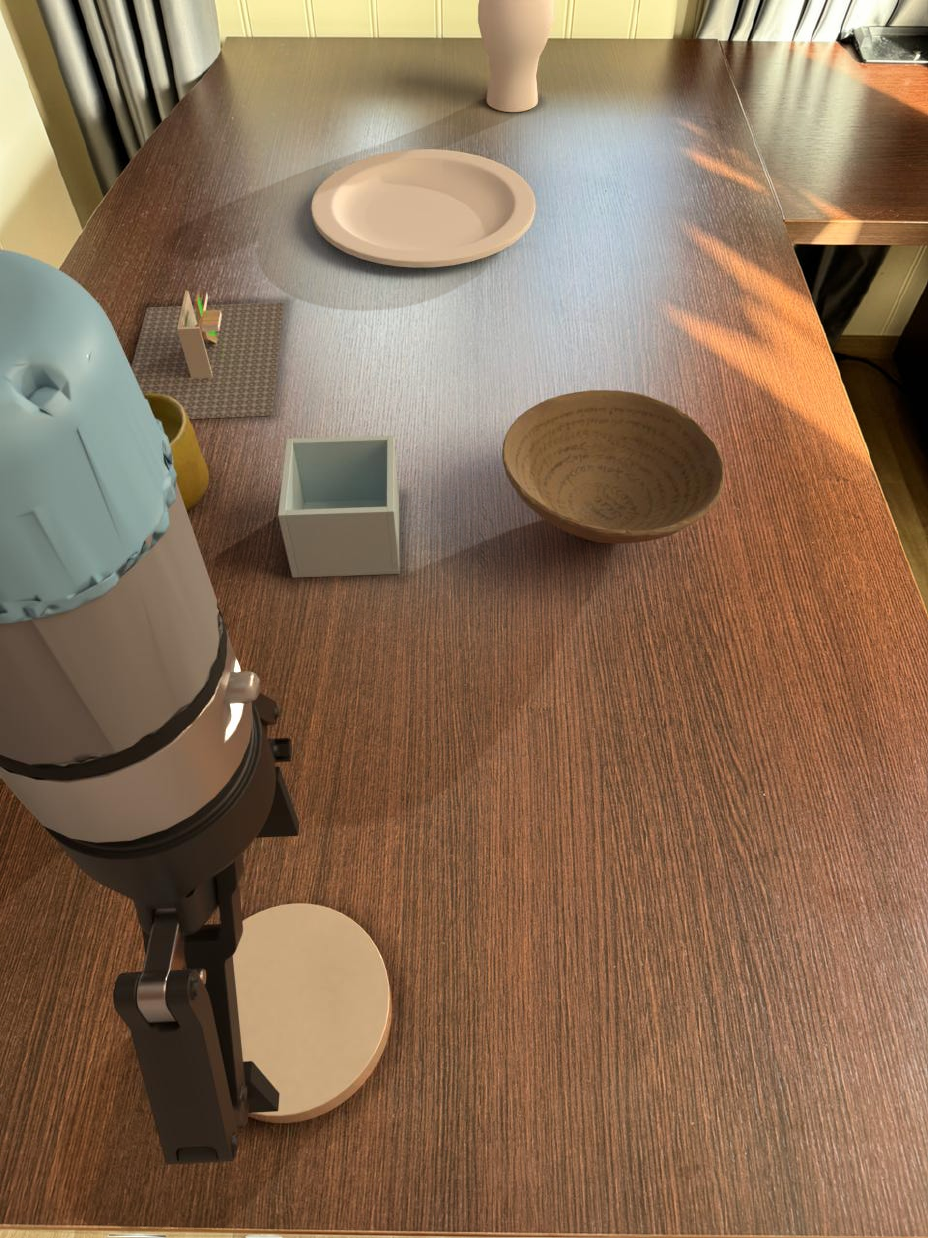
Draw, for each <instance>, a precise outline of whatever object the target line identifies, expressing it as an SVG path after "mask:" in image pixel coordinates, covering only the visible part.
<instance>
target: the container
mask: <svg viewBox="0 0 928 1238" xmlns="http://www.w3.org/2000/svg"><path fill="white" fill-rule="evenodd" d="M396 455H397V453H396V443H395V435H394V434H393V435H392V434H390V435H388V434H387V435H361V436H360V435H359V436H358V435H357V436H355V435H354V436H331V437H330V436H327V437H326V436H325V437H323V436H322V437H297V438H295V437H294V438H286V439H285V449H284V458H283V465H282V466H283V467H282V474H281V482H280V483H281V484H280V492H279V493H280V495H279V503H278V511H277V518H278V521H279V522H278V523H279V528H280V530H281V535H282V539H283V544H284V549H285V552H286V556H287V561H288V565H289V569H290V573H291V578H293V579H294V578H295V579H297V578H320V577H350V576H351V577H352V576H375V575H376V576H379V575H381V576H382V575H399V574H400V495H399V494H400V492H399V481H398V480H399V479H398V469H397V457H396Z"/></svg>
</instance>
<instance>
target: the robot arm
mask: <svg viewBox="0 0 928 1238" xmlns="http://www.w3.org/2000/svg"><path fill="white" fill-rule="evenodd" d="M125 353H126V352H125V351H124V349H123V346H122V344H121V342H120V340H119V337H118V335H117V333H116V331H115V328H114V326H113V324H112V321H111V320H110V319H109V317H108V315H107V313H106V312H105V310H104V309H103V307H102V305H100V303H99V302H98V301H97V300H96V298H94V297H93V296H92V294H91V293H90V292H89V291H88V290H87V289H86V288H85V287H83V286H82V285H81V284H80V283H79V282H78V281H77V280H75V279H74V278H72V277H71V276H70V275H69V274H67V273H65V272H64V271H62V270H60V269H58V268H57V267H56V266H53V265H51V264H49V263H47V262H45V261H42V260H40V259H39V258H35V257H33V256H30V255H27V254H23V253H20V252H16V251H12V250H8V249H1V248H0V779H1V780H2V781H3V782H4V783H5V785H6V786H7V787H8V788H9V789H10V791H11V792H12V793H13V794H14V795H15V797H16V798H17V799H18V800H19V801H20V803H21V804H22V805H23V806H24V807H25V808H26V809H27V810H28V812H29V813H31V815H33V817H34V818H35V819H36V820H37V821H38V822H39V824H41V825H42V827H43V828H44V830H45V831H46V832H47V833H48V834H49V835H50V836H51V838H53V840H54V841H55V842H56V843H57V844H58V845H59V847H61V849H62V850H63V851H64V852H65V853H66V855H68V857H69V858H70V859H71V860H72V862H73V863H74V864H75V865H76V867H78V868H79V869H80V870H81V871H82V872H83V874H85V875H87V876H88V877H89V878H91V879H92V880H94V881H95V882H96V883H98V884H100V885H102V886H103V887H106V888H107V889H110V890H111V891H114V892H116V893H117V894H120V895H122V896H124V897H126V898H128V899H130V900H131V901H132V902H133V905H134V908H135V912H136V917H137V921H138V924H139V927H140V929H141V933H142V941H143V949H144V953H145V958H144V963H143V967H142V970H141V971H138V970H137V971H129V972H120V973H119V974H118V976H116V980H115V981H114V987H113V991H112V998H113V999H112V1000H113V1007H114V1010H115V1012H116V1013H117V1014H118V1016H119V1017H120V1019H121V1020H122V1022H124V1025H126V1026H127V1028H128V1030H129V1031H130V1035H131V1038H132V1042H133V1045H134V1049H135V1050H134V1051H135V1053H136V1057H137V1061H138V1064H139V1068H140V1071H141V1076H142V1079H143V1083H144V1087H145V1090H146V1095H147V1098H148V1101H149V1102H148V1103H149V1106H150V1109H151V1114H152V1117H153V1121H154V1124H155V1125H154V1126H155V1129H156V1132H157V1135H158V1139H159V1144H160V1148H161V1151H162V1154H163V1159H164V1162H165V1164H166V1165H167V1166H168V1165H171V1166H172V1165H192V1164H210V1163H211V1164H213V1163H222V1162H223V1163H224V1162H226V1163H227V1162H234V1160H235V1158H236V1157H237V1154H238V1150H239V1147H240V1135H239V1134H238V1127H246V1125H247V1124H248V1123H249V1117H248V1115H249V1113H259V1112H277V1111H278V1108H279V1095H280V1093H279V1092H278V1091H277V1090H276V1089H275V1087H274V1086H273V1085H272V1084H271V1083H270V1081H269V1080H268V1079H267V1078H266V1077H265V1075H264V1074H263V1073H262V1072H261V1071H260V1070H259V1068H258V1067H257V1066H256V1065H255V1064H254V1062H253V1061H244V1062H243V1055H242V1045H241V1035H240V1025H239V1014H238V1004H237V994H236V984H235V974H234V963H233V955H234V953H235V952H236V949H237V947H238V944H239V942H240V939H241V937H242V934H243V922H242V921H243V913H242V902H241V900H242V899H241V891H240V881H241V879H242V877H243V875H244V872H245V863H244V853H245V852H246V850H247V849H249V847H250V846H251V845H252V843H253V842H254V841H255V840H256V839H261V838H263V839H264V838H265V839H266V838H284V837H299V835H300V834H299V833H300V822H299V818H298V816H297V813H296V809H295V807H294V804H293V801H292V799H291V795H290V793H289V789H288V787H287V785H286V784H287V783H286V781H285V778H284V775H283V772H282V770H281V767H280V766H276V763H286V762H288V763H290V762H292V759H293V743H292V739H291V737H275V738H268V733H269V732H268V731H269V730H268V728H269V727H268V726H276V725H277V723H278V719H279V718H280V708H279V706H278V704H277V702H276V700H274V699H273V698H271V697H269V696H268V695H265V694H264V693H262V688H261V687H262V686H261V679H260V677H259V676H258V674H257V673H255V672H253V671H250V670H242V669H241V667H240V664H239V661H238V659H237V656H236V653H235V651H234V648H233V646H232V642H231V639H230V635H229V633H228V630H227V625H226V622H225V619H224V617H223V614H222V612H221V610H220V608H219V604H218V599H217V596H216V594H215V593H216V592H215V589H214V588H213V585H212V582H211V579H210V575H209V573H208V570H207V567H206V564H205V561H204V558H203V555H202V553H201V552H202V551H201V549H200V547H199V544H198V541H197V538H196V535H195V532H194V529H193V526H192V522H191V520H190V517H189V514H188V512H187V511H186V508H185V505H184V502H183V499H182V496H181V493H180V490H179V487H178V485H177V482H176V478H177V474H176V471H175V469H174V467H173V463H174V461H173V456H172V451H171V448H170V444H169V440H168V437H167V436H166V434H165V433H164V430H163V426H162V423H161V421H159V420H158V419H156V418H155V417H154V415H153V413H152V410H151V408H150V405H149V403H148V400H147V399H145V398H144V396H143V394H142V391H141V389H140V387H139V385H138V382H137V380H136V378H135V376H134V373H133V371H132V369H131V364H130V362H129V359H128V358H127V355H126V354H125ZM218 910H219V920H220V922H219V923H212V924H211V923H210V924H207V922H208V921H209V920H210V919H211V918H212V917H213V916H214V915H215V914H216V913H217V912H218Z"/></svg>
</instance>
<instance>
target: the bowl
mask: <svg viewBox="0 0 928 1238" xmlns="http://www.w3.org/2000/svg"><path fill="white" fill-rule="evenodd" d="M720 451H721V450H720V449H719V447H718V446H717V444H716V442H715V441H714V439H713V438H712V437H711V436H710V435H709V433H707V431H705V430H704V428H703V427H702V426H701V425H700V424H699V423H698V422H697V421H696V420H694V419H693V418H692V417H691V416H689V415H688V414H687V413H684V412H683V411H681V410H680V409H679V408H677V407H676V406H674V405H671V404H669V403H667V402H665V401H662V400H659V399H657V398H654V397H651V396H648V395H646V394H643V393H638V392H633V391H625V390H619V389H616V390H612V389H593V390H592V389H590V390H583V391H576V392H570V393H565V394H560V395H557V396H554V397H551V398H547V399H545V400H543V401H542V402H539V403H536V405H534V406H532V407H530V408H529V409H527V410H525V411H524V412H523V413H522V414H521V415H519V416H518V417H517V418H516V419H515V420H514V421H513V423H512V424H511V425H510V427H509V428H508V431H507V432H506V434H505V436H504V439H503V442H502V449H501V454H502V455H501V460H502V465H503V468H504V469H503V470H504V471H505V475H506V477H507V479H508V481H509V483H510V485H511V486H512V488H513V490H514V491H515V492H516V494H517V495H518V496H519V498H520V499H521V500H522V501H523V502H524V504H525V505H526V506H527V507H528V508H529V509H530V510H532V511H533V512H534V513H535V514H537V516H539V517H540V518H542V519H543V520H544V521H546V522H547V523H549V524H551V525H553V526H555V527H556V528H558V529H560V530H562V531H564V532H566V533H568V534H570V535H573V536H576V537H579V538H581V539H583V540H588V541H591V542H595V543H601V544H612V545H613V544H635V543H636V544H637V543H644V542H649V541H650V542H651V541H655V540H660V539H663V538H667V537H669V536H671V535H674V534H677V533H679V532H681V531H683V530H685V529H687V528H689V527H691V526H692V525H694V524H696V523H697V522H699V521H700V520H702V519H703V518H704V517H705V516H706V515H707V514H708V513H709V512H710V511H711V510H712V509H713V508H714V506H715V505H716V504H717V502H718V500H719V499H720V497H721V495H722V493H723V491H724V487H725V481H726V468H725V463H724V460H723V457H722V453H721V452H720Z"/></svg>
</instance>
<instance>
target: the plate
mask: <svg viewBox="0 0 928 1238" xmlns="http://www.w3.org/2000/svg"><path fill="white" fill-rule="evenodd" d="M311 200H312V201H311V206H310V207H311V209H310V210H311V215H312V221H313V224H314V226H315V228H316V230H317V231H318V232H319V234H320V235H321V236H322V237H323V238H324V240H326V241H327V242H328V243H329V244H331V245H332V246H333V247H335V248H337V249H338V250H340V251H342V252H344V253H346V254H347V255H351V256H353V257H355V258H358V259H361V260H363V261H368V262H372V263H376V264H380V265H386V266H392V267H399V268H400V267H402V268H403V267H404V268H415V269H417V268H439V267H448V266H449V267H451V266H455V265H456V266H457V265H461V264H466V263H471V262H474V261H478V260H482V259H484V258H487V257H490V256H492V255H494V254H497V253H500V252H501V251H504V250H505V249H507V248H508V247H510V246H512V245H513V244H514V243H516V242H517V241H519V239H521V238H522V237H523V236H524V235H525V234H526V232H527V231H528V230H529V228H530V227H531V226H532V224H533V221H534V219H535V214H536V199H535V194H534V192H533V190H532V188H531V186H530V185H529V183H528V182H527V181H526V180H525V179H524V178H523V177H522V176H521V175H520V174H518V173H517V172H516V171H514V170H513V169H511V168H510V167H508V166H506V165H504V164H503V163H500V162H498V161H496V160H493V159H490V158H487V157H484V156H481V155H478V154H477V155H476V154H472V153H468V152H463V151H457V150H449V149H432V148H428V149H427V148H426V149H425V148H423V149H422V148H421V149H419V148H417V149H416V148H415V149H407V150H406V149H405V150H397V151H390V152H384V153H380V154H376V155H372V156H368V157H366V158H362V159H359V160H357V161H354V162H351V163H350V164H347V165H345V166H343V167H341V168H340V169H337V170H336V171H335V172H333V173H331V175H329V176H328V177H327V178H325V180H323V181H322V182H321V183H320V185H319V186H318V188H317V189H316V190H315V192H314V195H313V197H312V199H311Z"/></svg>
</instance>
